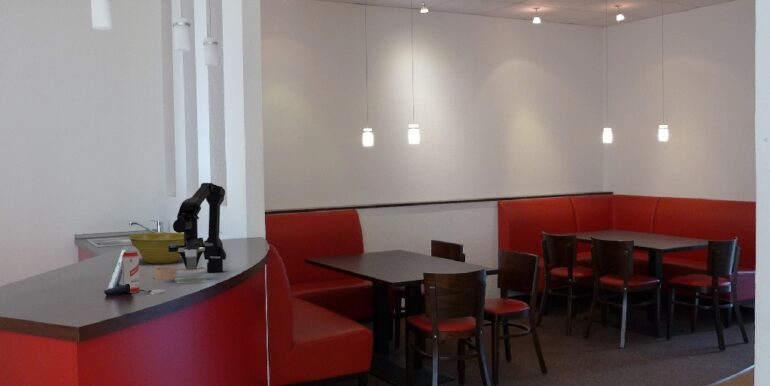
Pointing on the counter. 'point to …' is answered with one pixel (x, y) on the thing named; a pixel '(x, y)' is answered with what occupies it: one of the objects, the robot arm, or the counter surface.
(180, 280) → the mat
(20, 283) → the counter surface
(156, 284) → the counter surface
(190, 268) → the lid
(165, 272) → the bowl
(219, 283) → the counter surface
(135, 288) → the beer can
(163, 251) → the planter bowl
